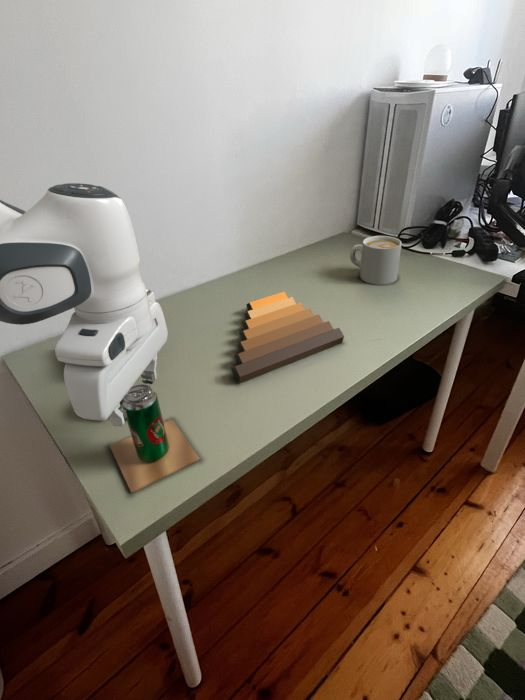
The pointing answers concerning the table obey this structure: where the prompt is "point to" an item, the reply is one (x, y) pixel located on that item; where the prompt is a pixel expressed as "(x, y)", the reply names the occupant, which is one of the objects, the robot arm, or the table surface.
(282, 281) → the table surface
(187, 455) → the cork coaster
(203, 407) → the table surface
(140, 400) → the soda can
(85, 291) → the robot arm
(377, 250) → the coffee mug
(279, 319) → the pan flute
